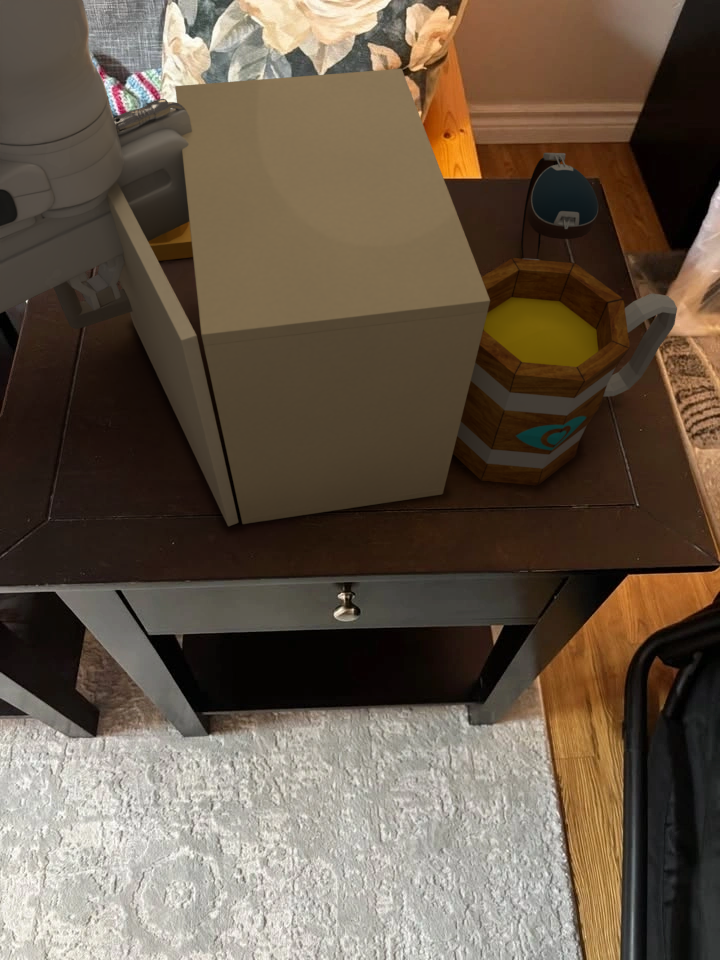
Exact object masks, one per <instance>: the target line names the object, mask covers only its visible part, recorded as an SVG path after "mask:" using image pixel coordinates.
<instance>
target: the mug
mask: <svg viewBox="0 0 720 960" xmlns="http://www.w3.org/2000/svg"><path fill="white" fill-rule="evenodd" d="M481 278H482V280H483V283H484V286H485V288H486V291H487V294H488V296H489V299H490V303H489V307H488V311H487V316H486V320H485V324H484V328H483V332H482V336H481V340H480V344H479V348H478V352H477V357H476V361H475V365H474V369H473V373H472V377H471V381H470V385H469V389H468V393H467V397H466V401H465V405H464V409H463V414H462V418H461V422H460V426H459V430H458V434H457V438H456V442H455V446H454V450H453V454H452V455H453V456H454V457H455V458H457V459H458V461H460V462H461V463H462V464H463V465H464V466H465V467H466V468H467V469H468V470H469V471H470V472H471V473H473V475H475V476H476V478H478V479H479V480H480V481H484V482H493V483H505V484H514V485H515V484H516V485H526V486H539V485H540V484H542V483H543V482H545V480H546V479H548V478H549V477H550V476H552V475H553V474H555V473H556V472H557V471H558V470H560V468H562V467H563V466H565V465H566V464H567V463H569V462H570V461H571V460H572V459H573V458H575V457H576V456H577V452H578V448H579V444H580V441H581V438H582V436H583V434H584V432H585V430H586V428H587V426H588V424H589V423H590V422H591V420H592V419H593V417H594V416H595V415H596V413H597V412H598V410H599V409H600V407H601V404H602V401H603V398H604V397H615V396H617V395H620V394H622V393H624V392H626V391H629V390H630V389H631V388H632V387H633V386H634V385H635V384H636V383H637V382H639V380H640V379H641V378H642V377H643V375H644V374H645V372H646V371H647V369H648V367H649V365H650V364H651V363H652V361H653V359H654V357H655V355H656V354H657V352H658V350H659V348H660V347H661V345H662V344H663V343H664V342H665V340H666V339H667V337H668V336H669V334H670V333H671V331H672V330H673V328H674V326H675V323H676V317H677V312H678V307H677V305H676V303H675V301H674V300H673V299H672V298H671V297H670V296H669V295H664V294H660V293H649V294H647V295H644V296H642V297H640V298H638V299H635V300H634V301H632V302H631V303H629V304H628V305H627V306H625V300H624V298H623V297H622V296H620V295H619V294H617V293H616V292H615V291H613V290H612V289H611V288H609V287H608V286H606V285H605V284H604V283H602V282H601V281H599V280H598V279H597V278H596V277H594V276H593V275H592V274H590V273H589V272H588V271H586V270H585V269H584V268H582V267H581V266H579V264H576V263H575V262H565V261H555V260H554V261H551V260H543V259H542V260H541V259H539V260H530V259H523V258H517V257H512V258H510V259H508V260H507V261H505V262H503V263H502V264H500V265H499V266H497V267H495V268H494V269H492V270H491V271H490V272H487V273H486V274H484V275H483V276H481ZM653 317H654V319H653V320H652V322H651V323H650V324H649V327H648V328H647V329H646V331H645V332H644V334H643V335H642V338H641V339H640V341H639V343H638V345H637V347H636V349H635V351H634V352H633V354H632V357H631V358H630V359H629V360H628V362H626V364H625V365H624V366H623V367H622V368H621V369H620V370H619V371H617V372H616V373H614V372H615V370H616V368H617V366H618V365H619V364H620V363H621V361H622V360H623V358H624V357H625V356H626V354H627V353H628V351H629V350H630V349H631V347H630V339H629V338H630V337H629V333H630V332H632V331H633V330H635V329H636V328H637V327H638V326H640V325H641V324H642V323H644V322H645V321H646V320H649V319H651V318H653ZM613 373H614V374H613Z"/></svg>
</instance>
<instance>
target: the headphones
mask: <svg viewBox="0 0 720 960" xmlns="http://www.w3.org/2000/svg"><path fill="white" fill-rule="evenodd" d="M565 161H566V152H543V155H542V157H541V158H540V159H539V160H538V162H537V163H536V165H535V167H534V169H533V171H532V175H531V178H530V181H529V184H528V189H527V193H526V197H525V204H524V211H523V220H522V229H521V243H520V244H521V255H522V259H530V260H540V259H539V253H540V246H541V236H544V237H548V238H552V239H559V240H571V239H578V238H582V237H584V236H586V235H588V234H589V233H590V232H591V231H592V229H593V227H594V224H595V223H596V220H597V218H598V214H599V202H598V198H597V197H598V196H597V195H596V192H595V190H594V188H593V186H592V185H591V183H590V182H589V181H588V179H587V178H586V176H585V175H584V174H582V172H581V171H579V170H578V169H576V168H575V167H573V166H571V165H568V164H566V163H565ZM561 162H562V163H561Z"/></svg>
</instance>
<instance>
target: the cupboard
mask: <svg viewBox="0 0 720 960" xmlns="http://www.w3.org/2000/svg"><path fill="white" fill-rule="evenodd" d="M174 87H175V97H176V98H175V99H176V103H179V104H180V105H182V106H183V107H184V108H185V109H186V111H187V112H188V115H189V117H190V122H191V128H192V131H191V132H189V133H187V134H185V135H182V137H183V138H184V139H185V140H186V141H187V142H188V143H189V145H188V146H187V147H185V148H184V149H182V155H183V165H184V174H185V184H186V193H187V203H188V213H189V222H190V232H191V241H192V251H193V257H192V259H193V267H194V278H195V279H194V280H195V288H196V298H197V306H198V317H199V326H200V327H199V328H200V334H201V339H202V344H203V349H204V354H205V358H206V363H207V367H208V368H207V369H208V372H209V376H210V381H211V386H212V391H213V395H214V400H215V404H216V409H217V414H218V419H219V423H220V427H221V432H222V437H223V441H224V445H225V450H226V455H227V459H228V465H229V468H230V474H231V477H232V481H233V486H234V492H235V496H236V501H237V505H238V509H239V510H238V511H239V514H240V519H241V520H240V521H241V524H242V525H247V524H253V523H259V522H260V523H261V522H267V521H274V520H279V519H286V518H294V517H300V516H306V515H307V516H308V515H314V514H320V513H328V512H332V511H340V510H347V509H353V508H360V507H361V508H362V507H367V506H374V505H379V504H388V503H394V502H400V501H407V500H414V499H421V498H428V497H434V496H440V495H443V494H444V491H445V487H446V482H447V478H448V474H449V470H450V466H451V462H452V458H453V455H454V454H453V450H454V446H455V442H456V438H457V434H458V430H459V426H460V422H461V418H462V414H463V409H464V405H465V401H466V397H467V393H468V389H469V385H470V381H471V377H472V373H473V369H474V365H475V361H476V357H477V352H478V348H479V344H480V340H481V336H482V332H483V328H484V324H485V320H486V316H487V311H488V307H489V303H490V299H489V296H488V294H487V291H486V288H485V286H484V283H483V280H482V278H481V277H482V275H481V273H480V270H479V267H478V265H477V262H476V260H475V257H474V254H473V251H472V249H471V247H470V244H469V241H468V238H467V236H466V233H465V231H464V228H463V226H462V223H461V220H460V219H459V218H460V217H459V215H458V213H457V210H456V207H455V205H454V202H453V199H452V197H451V194H450V192H449V189H448V186H447V184H446V181H445V178H444V176H443V173H442V171H441V168H440V165H439V162H438V160H437V158H436V155H435V153H434V149H433V147H432V145H431V142H430V140H429V137H428V134H427V131H426V129H425V126H424V124H423V120H422V118H421V115H420V113H419V110H418V108H417V105H416V103H415V99H414V97H413V95H412V92H411V90H410V86H409V84H408V81H407V79H406V76H405V73H404V71H403V68H393V69H379V70H378V69H377V70H369V71H368V70H367V71H355V72H354V71H353V72H341V73H329V74H328V73H327V74H315V75H312V74H311V75H299V76H288V77H275V78H262V79H250V80H237V81H235V80H234V81H224V82H223V81H222V82H212V83H211V82H210V83H197V84H185V85H184V84H183V85H175V86H174Z"/></svg>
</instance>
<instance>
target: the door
mask: <svg viewBox="0 0 720 960" xmlns="http://www.w3.org/2000/svg"><path fill="white" fill-rule="evenodd" d="M107 195H108V196H107V201H108V204H109V207H110V210H111V213H112V216H113V219H114V222H115V225H116V229H117V232H118V235H119V238H120V242H121V245H122V248H123V252H124V253H123V257H124V261H125V263H124V266H123V269H122V272H121V275H120V278H119V281H118V282H119V283H120V286H121V289H120V288H119V292H120V295H121V298H119V299H117V300H115V301H113V302H111V303H109V304H107V305H105V306H103V307H101V308H99V309H97V310H95V311H94V310H93V309H92V308H91V307H90V305H89V304H88V303H87V302H86V300H85V299H84V300H82V301H80V300H79V298H78V297H79V296H78V294H77V292H76V289H74V288H72V287H71V286H70V285H69V283H68V282H67V281H66V282H64V283H62V284H60V285H58V286H56V287H54V288H53V291H54V292H55V295H56V297H57V299H58V301H59V305H60V306H61V309H62V311H63V313H64V315H65V318H66V320H67V323H68V326H69V327H70V328H71V329H75V330H79V329H82V328H85V327H88V326H91V325H95V324H98V323H101V322H104V321H107V320H110V319H113V318H117V317H120V316H123V315H125V314H129V315H130V318H131V321H132V324H133V327H134V328H135V331H136V333H137V335H138V337H139V339H140V341H141V344H142V345H143V348H144V350H145V353H146V355H147V356H148V359H149V360H150V363H151V365H152V367H153V369H154V371H155V373H156V376H157V378H158V380H159V382H160V384H161V386H162V389H163V391H164V394H165V396H166V397H167V399H168V402H169V404H170V406H171V408H172V410H173V412H174V415H175V417H176V419H177V421H178V423H179V425H180V427H181V429H182V431H183V433H184V436H185V438H186V440H187V442H188V444H189V447H190V448H191V451H192V453H193V455H194V457H195V459H196V462H197V463H198V465H199V467H200V470H201V472H202V474H203V477H204V479H205V480H206V483H207V485H208V487H209V489H210V492H211V493H212V495H213V498H214V499H215V502H216V504H217V507H218V509H219V510H220V513H221V515H222V517H223V519H224V521H225V523H226V526H227V527H231V526H234V525H236V524H239V518H238V513H237V508H236V504H235V499H234V496H233V495H234V494H233V491H232V486H231V482H230V477H229V473H228V472H229V471H228V467H227V465H226V460H225V455H224V451H223V447H222V442H221V437H220V433H219V429H218V425H217V420H216V415H215V410H214V406H213V401H212V398H211V392H210V388H209V384H208V380H207V379H208V378H207V374H206V371H205V366H204V361H203V357H202V352H201V348H200V343H199V340H198V335H197V333H196V330H195V329H194V328H193V325H192V324H191V322H190V320H189V317H188V315H187V314H186V312H185V310H184V308H183V306H182V304H181V302H180V300H179V298H178V296H177V295H176V293H175V291H174V288H173V287H172V285H171V283H170V281H169V279H168V277H167V275H166V273H165V272H164V269H163V268H162V266H161V264H160V261H158V260H157V258H156V256H155V254H154V252H153V250H152V248H151V246H150V244H149V243H148V241H147V239H146V237H145V235H144V233H143V231H142V229H141V227H140V225H139V223H138V221H137V219H136V217H135V216H134V214H133V212H132V210H131V208H130V206H129V204H128V202H127V200H126V198H125V196H124V194H123V192H122V191H121V189H120V187H119V185H118V183H117V182H115V183H114V184H113V185H112V186H111V187H110V189H109V191H108V193H107Z"/></svg>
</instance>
